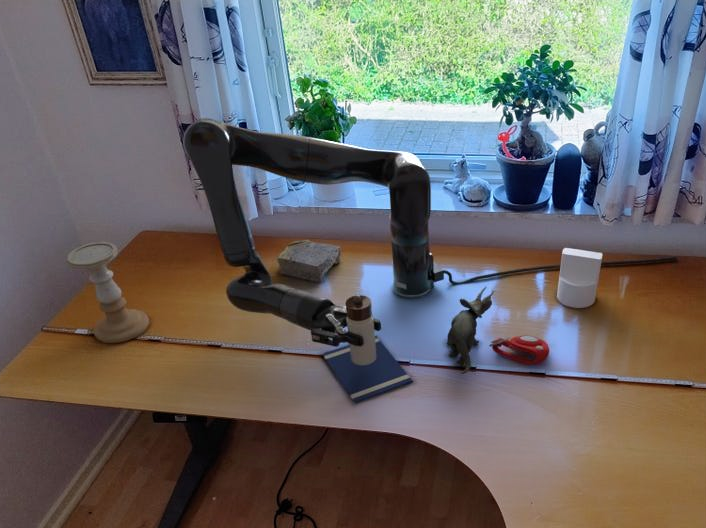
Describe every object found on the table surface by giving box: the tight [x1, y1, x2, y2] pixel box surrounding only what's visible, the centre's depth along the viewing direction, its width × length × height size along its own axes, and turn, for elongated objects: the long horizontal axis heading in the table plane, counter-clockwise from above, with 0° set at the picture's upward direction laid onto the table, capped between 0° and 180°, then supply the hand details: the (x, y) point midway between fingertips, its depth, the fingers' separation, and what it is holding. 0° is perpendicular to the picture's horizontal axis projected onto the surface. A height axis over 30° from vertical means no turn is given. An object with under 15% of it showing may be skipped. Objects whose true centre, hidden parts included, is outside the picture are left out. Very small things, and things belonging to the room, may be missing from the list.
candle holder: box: [65, 241, 150, 344], centre depth 142 cm, size 12×12×20 cm
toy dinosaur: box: [446, 286, 495, 375], centre depth 132 cm, size 22×8×11 cm, turn 160°
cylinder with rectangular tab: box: [556, 247, 603, 309], centre depth 147 cm, size 9×9×12 cm
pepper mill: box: [345, 294, 377, 365], centre depth 126 cm, size 5×5×15 cm
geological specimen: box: [276, 239, 342, 283], centre depth 165 cm, size 11×6×15 cm
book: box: [322, 335, 414, 404], centre depth 133 cm, size 13×18×1 cm
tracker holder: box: [489, 335, 550, 365], centre depth 134 cm, size 12×4×10 cm
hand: (371, 333), depth 126 cm, fingers closed on pepper mill, 5 cm apart
